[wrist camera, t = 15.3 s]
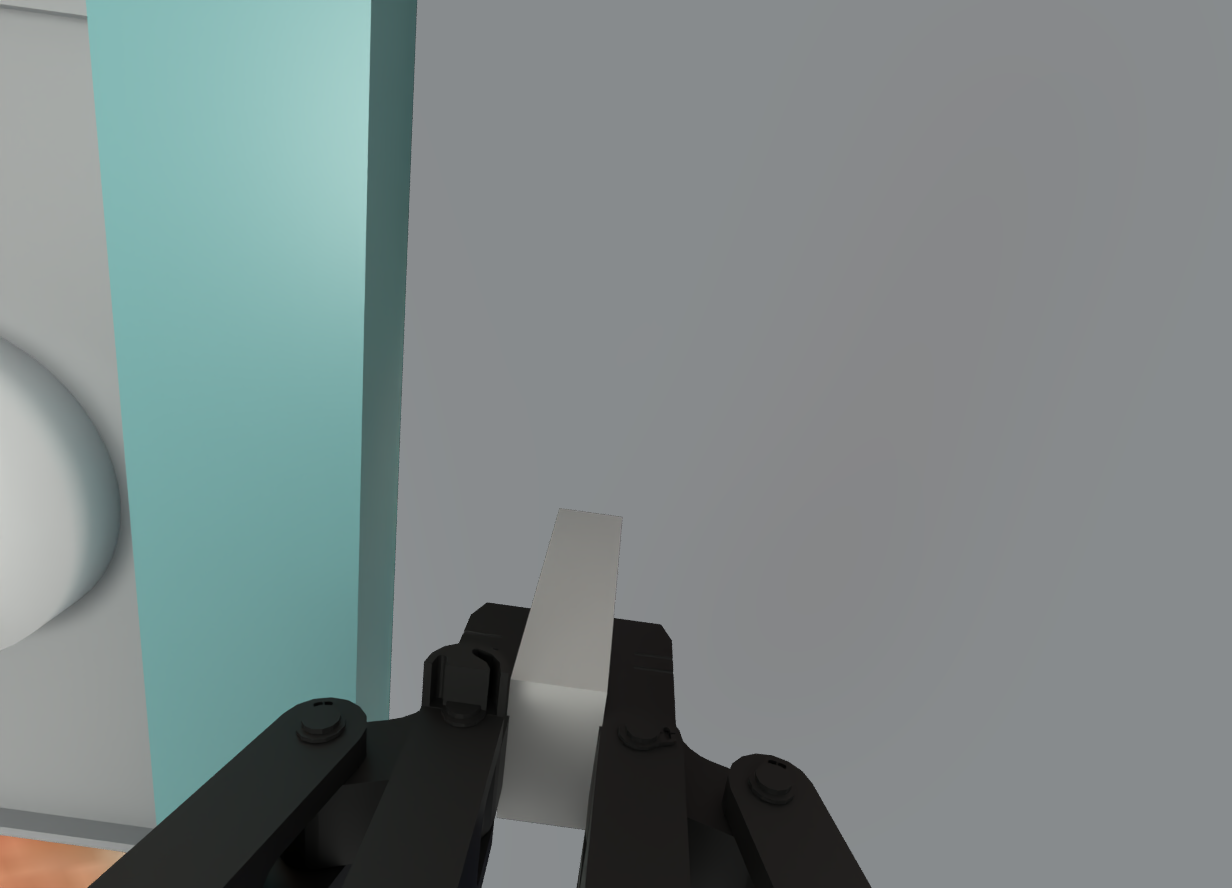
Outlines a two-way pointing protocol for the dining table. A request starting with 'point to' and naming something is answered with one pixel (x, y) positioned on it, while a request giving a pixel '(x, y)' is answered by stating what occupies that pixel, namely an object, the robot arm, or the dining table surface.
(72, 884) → the dining table surface
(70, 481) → the disc
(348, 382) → the tray
